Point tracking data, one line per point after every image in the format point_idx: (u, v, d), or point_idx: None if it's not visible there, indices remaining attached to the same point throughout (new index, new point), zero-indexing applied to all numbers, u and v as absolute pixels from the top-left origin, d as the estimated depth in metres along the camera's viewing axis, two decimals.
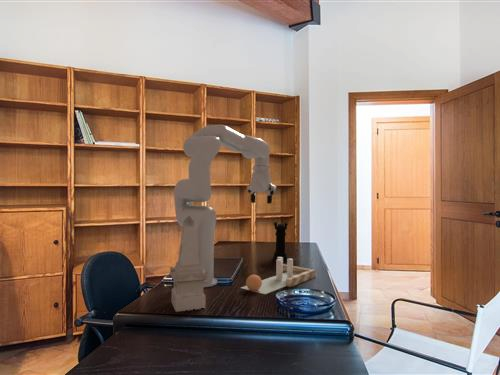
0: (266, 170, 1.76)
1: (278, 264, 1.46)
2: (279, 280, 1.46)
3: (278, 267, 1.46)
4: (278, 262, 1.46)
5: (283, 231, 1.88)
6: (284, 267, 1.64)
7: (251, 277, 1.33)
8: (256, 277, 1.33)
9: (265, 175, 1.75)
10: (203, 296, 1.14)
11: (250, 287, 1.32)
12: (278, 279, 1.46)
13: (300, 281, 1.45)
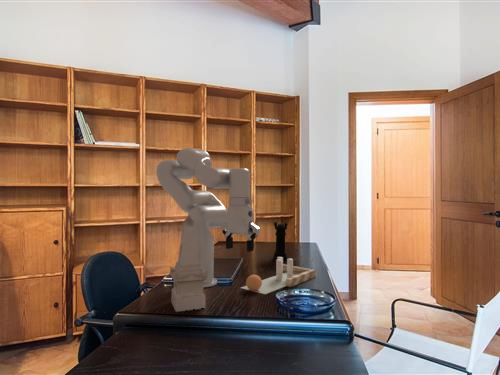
0: None
1: (278, 264, 1.46)
2: (279, 280, 1.46)
3: (278, 267, 1.46)
4: (278, 262, 1.46)
5: (283, 231, 1.88)
6: (284, 267, 1.64)
7: (251, 277, 1.33)
8: (256, 277, 1.33)
9: None
10: (203, 296, 1.14)
11: (250, 287, 1.32)
12: (278, 279, 1.46)
13: (300, 281, 1.45)
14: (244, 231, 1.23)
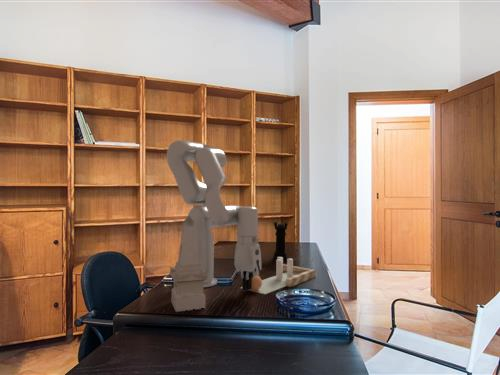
0: None
1: (278, 264, 1.46)
2: (279, 280, 1.46)
3: (278, 267, 1.46)
4: (278, 262, 1.46)
5: (283, 231, 1.88)
6: (284, 267, 1.64)
7: None
8: (256, 277, 1.33)
9: None
10: (203, 296, 1.14)
11: None
12: (278, 279, 1.46)
13: (300, 281, 1.45)
14: (251, 269, 1.26)
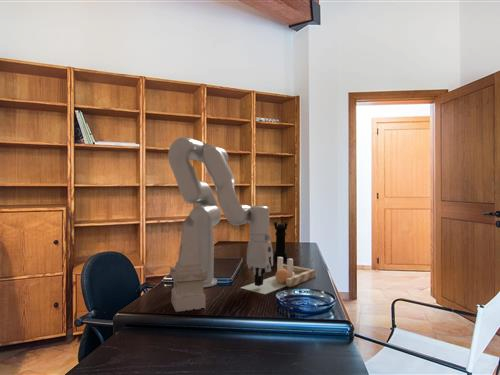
0: None
1: None
2: None
3: None
4: None
5: (283, 231, 1.88)
6: (284, 267, 1.64)
7: (277, 280, 1.43)
8: (280, 278, 1.42)
9: None
10: (203, 296, 1.14)
11: None
12: None
13: (300, 281, 1.45)
14: (264, 266, 1.32)
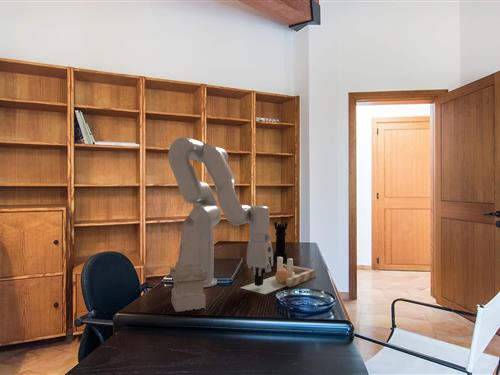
0: None
1: None
2: None
3: None
4: None
5: (283, 231, 1.88)
6: (284, 267, 1.64)
7: (277, 280, 1.43)
8: (280, 278, 1.42)
9: None
10: (203, 296, 1.14)
11: None
12: None
13: (300, 281, 1.45)
14: (264, 266, 1.32)
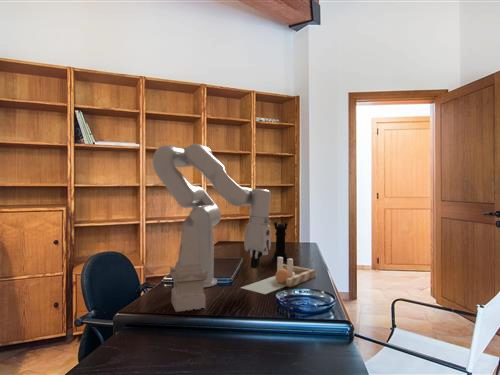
0: None
1: None
2: None
3: None
4: None
5: (283, 231, 1.88)
6: (284, 267, 1.64)
7: (277, 280, 1.43)
8: (280, 278, 1.42)
9: None
10: (203, 296, 1.14)
11: None
12: None
13: (300, 281, 1.45)
14: (261, 248, 1.33)
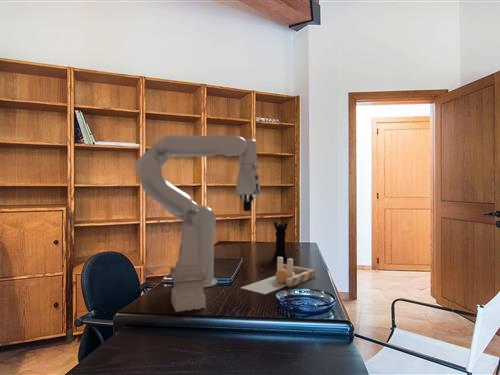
0: None
1: None
2: None
3: None
4: None
5: (283, 231, 1.88)
6: (284, 267, 1.64)
7: (277, 280, 1.43)
8: (280, 278, 1.42)
9: None
10: (203, 296, 1.14)
11: None
12: None
13: (300, 281, 1.45)
14: (251, 191, 1.48)
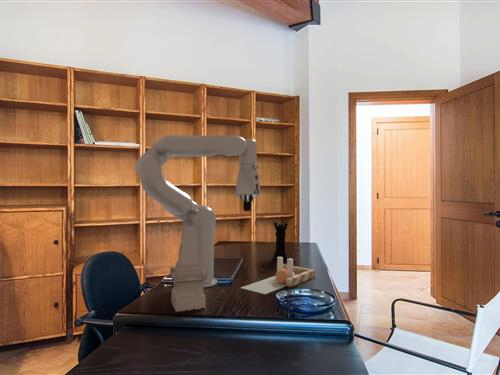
0: None
1: None
2: None
3: None
4: None
5: (283, 231, 1.88)
6: (284, 267, 1.64)
7: (277, 280, 1.43)
8: (280, 278, 1.42)
9: None
10: (203, 296, 1.14)
11: None
12: None
13: (300, 281, 1.45)
14: (251, 191, 1.48)
